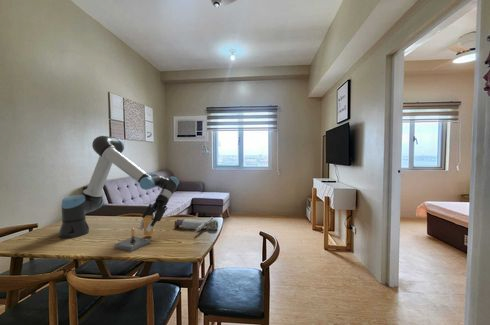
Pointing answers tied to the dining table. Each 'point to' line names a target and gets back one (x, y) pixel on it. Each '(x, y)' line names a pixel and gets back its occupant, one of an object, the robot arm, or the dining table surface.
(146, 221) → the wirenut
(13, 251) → the dining table surface
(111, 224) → the dining table surface
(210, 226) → the toy
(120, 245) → the grey base with peg
